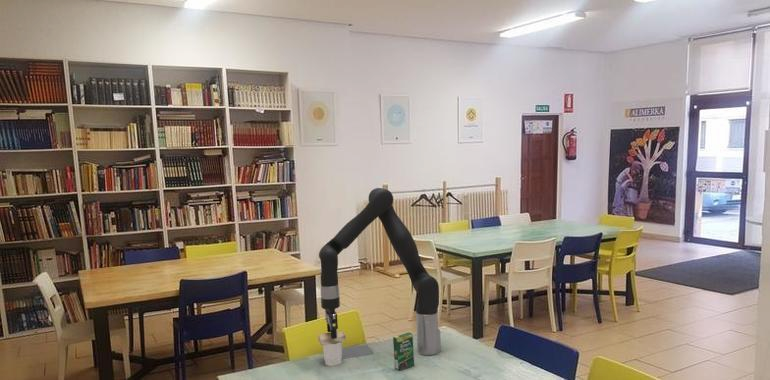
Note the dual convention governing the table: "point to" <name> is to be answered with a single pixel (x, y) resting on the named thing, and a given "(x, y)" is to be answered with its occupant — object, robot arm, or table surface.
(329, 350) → the white cup
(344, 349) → the mat
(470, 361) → the table surface
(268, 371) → the table surface
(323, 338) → the lid board
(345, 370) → the table surface
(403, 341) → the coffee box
